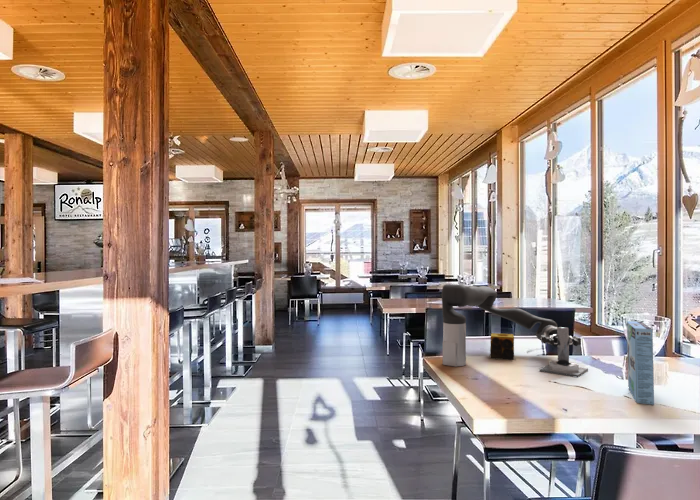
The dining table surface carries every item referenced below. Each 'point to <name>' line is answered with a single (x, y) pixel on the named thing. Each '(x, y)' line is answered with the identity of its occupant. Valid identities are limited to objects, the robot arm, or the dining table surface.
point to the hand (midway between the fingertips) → (564, 342)
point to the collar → (564, 369)
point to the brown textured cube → (502, 346)
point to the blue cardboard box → (640, 362)
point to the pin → (563, 345)
